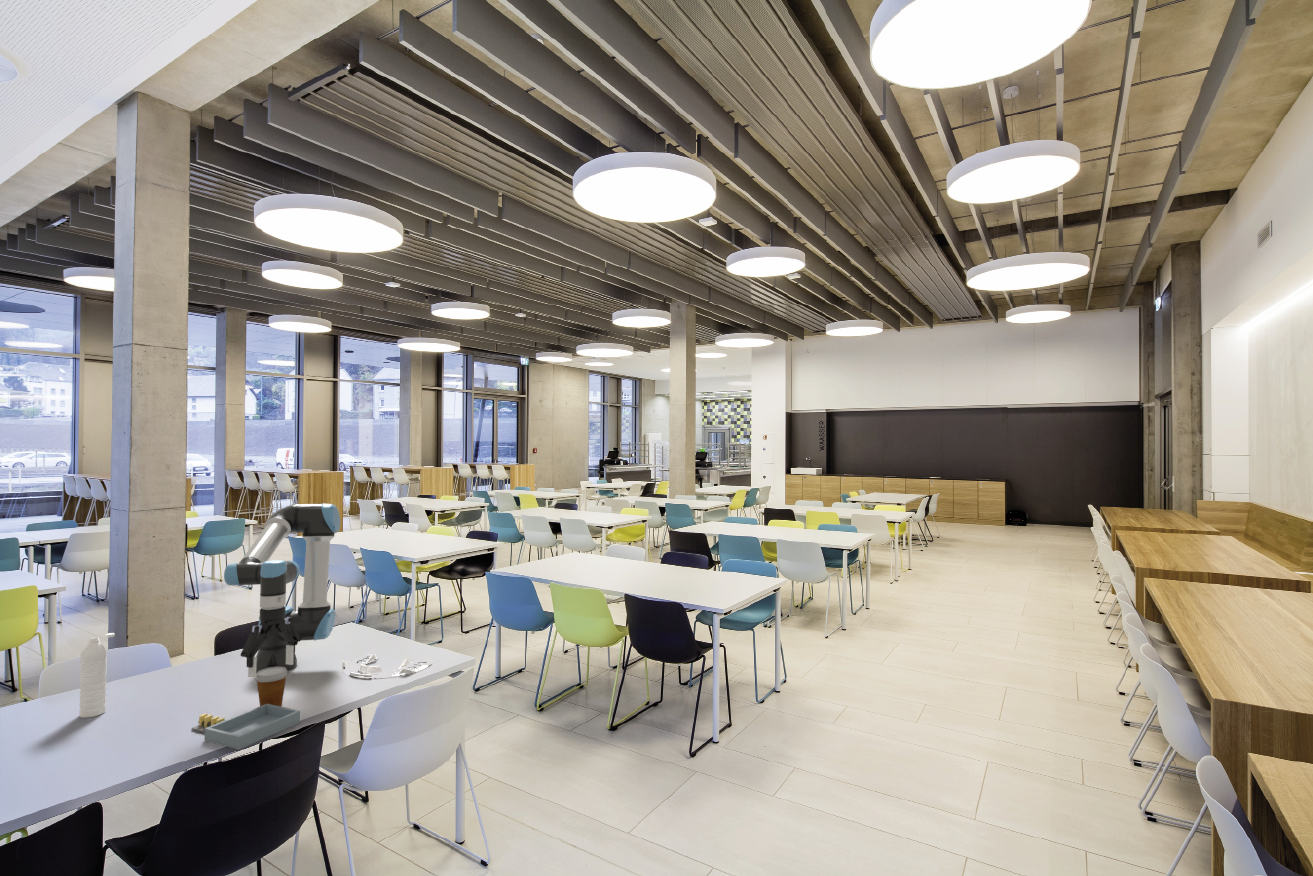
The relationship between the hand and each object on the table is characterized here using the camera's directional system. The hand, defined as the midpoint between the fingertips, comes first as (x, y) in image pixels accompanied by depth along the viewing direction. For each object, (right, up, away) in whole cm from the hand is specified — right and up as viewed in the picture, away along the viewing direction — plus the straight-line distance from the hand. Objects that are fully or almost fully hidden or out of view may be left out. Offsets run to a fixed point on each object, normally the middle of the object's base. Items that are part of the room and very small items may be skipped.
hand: (271, 670), depth 215 cm
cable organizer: (+20, -14, +39) cm, 46 cm away
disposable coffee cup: (0, -13, 0) cm, 13 cm away
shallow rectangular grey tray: (+6, -12, -18) cm, 22 cm away
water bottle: (-54, -12, -6) cm, 56 cm away
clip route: (-8, -12, -17) cm, 22 cm away
